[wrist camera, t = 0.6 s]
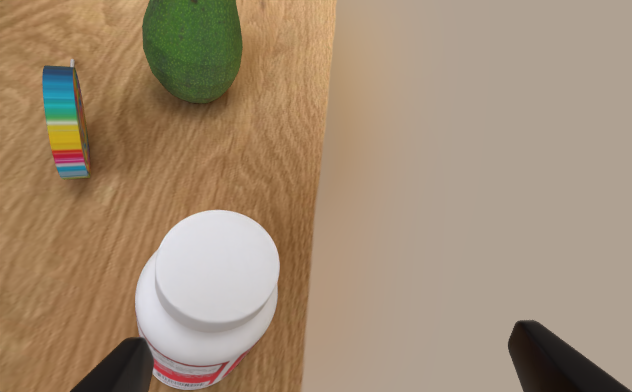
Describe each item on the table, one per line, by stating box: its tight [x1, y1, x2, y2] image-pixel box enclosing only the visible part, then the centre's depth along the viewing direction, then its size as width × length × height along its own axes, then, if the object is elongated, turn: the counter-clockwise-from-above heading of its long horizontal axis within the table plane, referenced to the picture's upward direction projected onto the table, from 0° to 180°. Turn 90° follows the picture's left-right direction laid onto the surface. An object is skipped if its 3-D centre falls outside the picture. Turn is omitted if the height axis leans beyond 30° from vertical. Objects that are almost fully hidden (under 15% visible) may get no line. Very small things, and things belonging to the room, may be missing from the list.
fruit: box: [142, 0, 243, 103], centre depth 29 cm, size 8×8×12 cm
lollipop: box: [43, 59, 90, 179], centre depth 26 cm, size 7×1×15 cm
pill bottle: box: [135, 210, 280, 390], centre depth 18 cm, size 6×6×11 cm
